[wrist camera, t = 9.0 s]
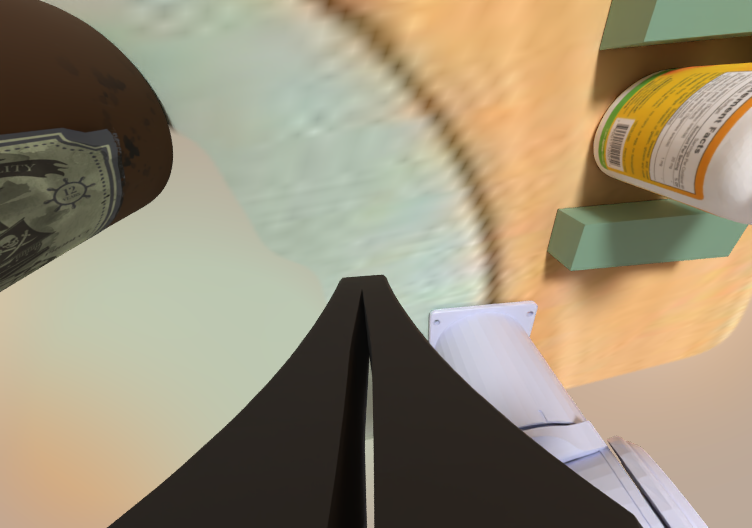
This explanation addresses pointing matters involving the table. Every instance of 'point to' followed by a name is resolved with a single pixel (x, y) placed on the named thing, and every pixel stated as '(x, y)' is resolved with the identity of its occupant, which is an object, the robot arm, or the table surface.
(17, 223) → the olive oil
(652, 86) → the supplement bottle
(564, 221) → the green u-shaped block
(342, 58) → the table surface
